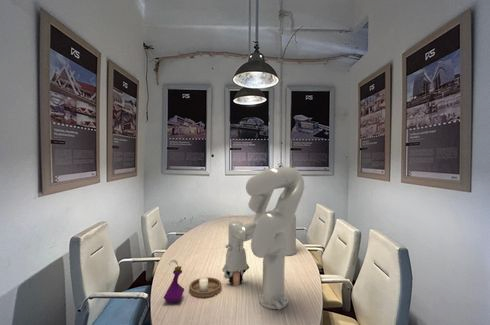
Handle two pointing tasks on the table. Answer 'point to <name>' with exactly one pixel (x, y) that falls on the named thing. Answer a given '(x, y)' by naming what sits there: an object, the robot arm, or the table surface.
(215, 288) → the groove tray
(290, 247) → the cylinder vase
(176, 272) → the perfume bottle
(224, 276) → the bead slate
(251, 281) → the table surface
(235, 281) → the bead terracotta
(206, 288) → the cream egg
